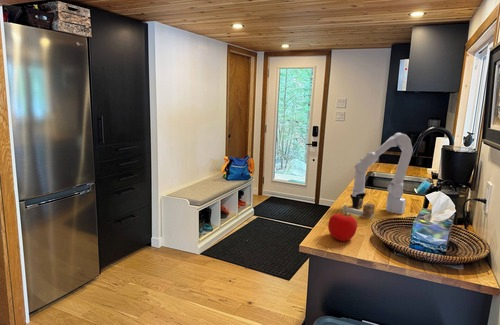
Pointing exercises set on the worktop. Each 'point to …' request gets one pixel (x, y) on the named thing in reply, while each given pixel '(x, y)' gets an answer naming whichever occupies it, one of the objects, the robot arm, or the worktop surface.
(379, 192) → the worktop surface
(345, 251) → the worktop surface
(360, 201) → the brown notched block
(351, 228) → the red apple
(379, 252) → the worktop surface
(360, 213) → the rail
